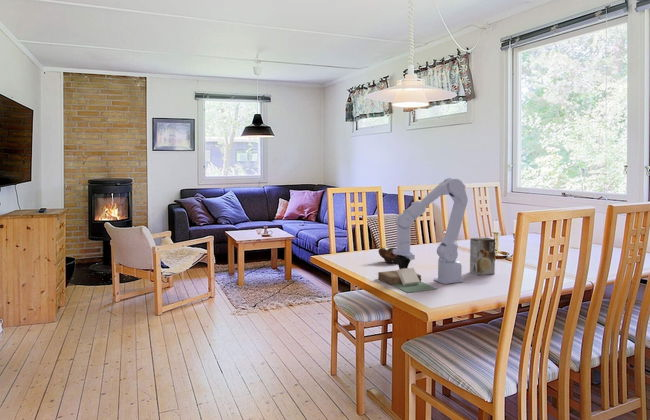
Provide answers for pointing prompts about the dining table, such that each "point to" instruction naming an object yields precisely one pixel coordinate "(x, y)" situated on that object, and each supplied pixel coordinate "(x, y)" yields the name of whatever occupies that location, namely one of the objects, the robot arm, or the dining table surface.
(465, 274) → the dining table surface
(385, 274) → the walnut step
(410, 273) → the coaster
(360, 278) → the dining table surface
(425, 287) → the rubber mat
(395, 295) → the dining table surface
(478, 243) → the coffee box
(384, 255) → the decorative turtle
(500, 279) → the dining table surface
